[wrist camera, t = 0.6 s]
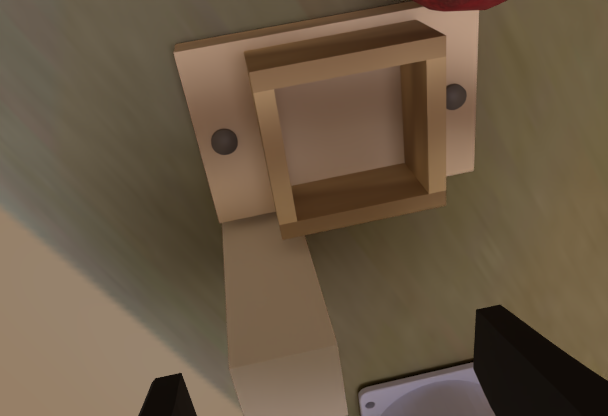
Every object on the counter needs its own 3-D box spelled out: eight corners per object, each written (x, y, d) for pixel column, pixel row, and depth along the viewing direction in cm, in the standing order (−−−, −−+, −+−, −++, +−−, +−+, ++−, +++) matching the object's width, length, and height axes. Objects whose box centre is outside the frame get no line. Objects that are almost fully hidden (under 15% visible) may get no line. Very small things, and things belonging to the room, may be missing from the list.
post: (305, 261, 22) (348, 415, 16) (237, 276, 22) (250, 437, 15) (294, 202, 21) (337, 344, 14) (221, 217, 21) (228, 368, 14)
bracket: (460, 157, 21) (505, 201, 18) (218, 207, 20) (221, 262, 17) (463, -9, 18) (519, 9, 15) (175, 44, 17) (168, 74, 14)
